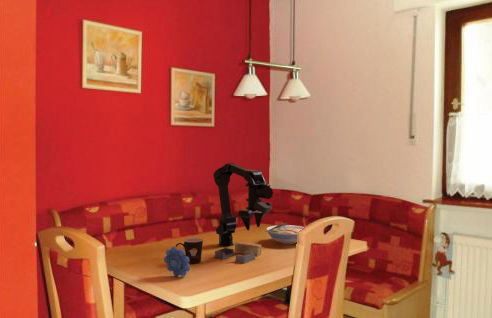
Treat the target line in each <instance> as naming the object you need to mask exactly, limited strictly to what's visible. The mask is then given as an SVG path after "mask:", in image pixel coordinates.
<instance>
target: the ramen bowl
mask: <svg viewBox="0 0 492 318" xmlns="http://www.w3.org/2000/svg"><path fill="white" fill-rule="evenodd" d="M304 227H305V226H301V225H294V224H293V225H290V224H289V222H283V223H280V224H278V225H272V226H268V227H267V228H266V230H265V232H267V233H268V235H269V236H270V238H271V239H272V240H274V241H276V242H279V243H280V244H282V245H293V244H295V243H298V242H297V234H298V232H299V231H300V230H302V229H303V228H304Z"/></svg>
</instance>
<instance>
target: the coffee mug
mask: <svg viewBox="0 0 492 318" xmlns="http://www.w3.org/2000/svg"><path fill="white" fill-rule="evenodd" d="M203 243H204V239H203V238H200V237H189V238H185V239H184V240H183V243H182V242H178V243H176V244H175V247H176V248H177V249H178V247H177V246H179V245H181V246H183V248H184V252H185V255H184V256H187V257H188V258H189V260H190V261H189V263H188V265H197V264H198V265H199V264H201V263H202V262H201V261H202V252H203Z"/></svg>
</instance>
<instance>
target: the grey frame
mask: <svg viewBox="0 0 492 318" xmlns="http://www.w3.org/2000/svg"><path fill="white" fill-rule="evenodd" d="M233 256H235V259H234V262H235V263H238V264H239V263H240V264H247V263H249V262H252V261H255V260H256V256H255V253H252V252H246V251H245V252H244V254H239V253H236V255H235V248H234V249H233V248H230V247H229V248H228V247H224V248H220V249H218V250H215V251H214V255H213V257H214V258H215V259H220V260H226V259H227V258H230V257H233Z"/></svg>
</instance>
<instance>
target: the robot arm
mask: <svg viewBox="0 0 492 318" xmlns="http://www.w3.org/2000/svg"><path fill="white" fill-rule="evenodd" d="M234 174H236V175H237V176H240V177H242V178H243V180H245V181H246V182H247V183H246V184H245V186H244V187H247V198H245V201H246V202H247V206H246V207H245V209H244V208H242V209H240V210H238V212H237V216H238V217H239V218H240V219H241V221H242V222H243V225H244V227H245V229H246V231H250V228H251V227H250V226H251V220H252V219H253V218H255V220H254V221H255V224H256V227H257V228H260V226H261V223H262V220H263V217H264V216H265V215H267V214H269V213H270V211H271V210H272V209H273V208H272V202H270V201H268V202H263V200H262V199H264V200H271V199H272V197H273V195H274V191H273V189H272V187H271V184H267V182H266V180H265V178H264V175H263V173H262V171H261V170H257V169H248V168H246V167H243V166H241V165H238V164H236V163H234V162H227V163H225V164H224V165H223V166H221V167H219V168H217V169H215V171H214V172H213V180H214V184H215V185H216V186H217V188H218V193H219V202H220V212H221V216H220V217H219V221H218V222H219V225H218V227H217V228H215V232H216V234H217V235H218V243H217V244H216V245H217V246H218V247H224V248H228V247H231V246H235V243H233V240H234V237H233V234H235V233H236V229H237V225H238V224H237V223H238V222H237V218H236V216H234V215H233V214H232V207H231V202H230V201H231V199H230V193H229V184H230V182H231V176H233V175H234ZM253 215H254V216H253Z"/></svg>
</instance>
